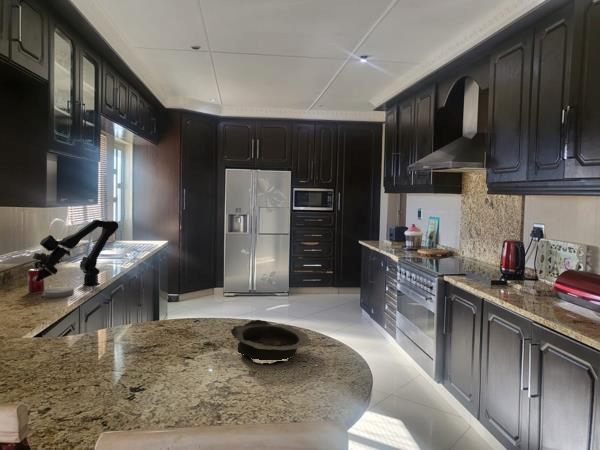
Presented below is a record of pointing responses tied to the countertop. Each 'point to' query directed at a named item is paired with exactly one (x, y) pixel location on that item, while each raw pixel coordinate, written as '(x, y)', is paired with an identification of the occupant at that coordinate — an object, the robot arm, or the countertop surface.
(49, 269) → the robot arm
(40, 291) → the soda can
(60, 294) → the riser
